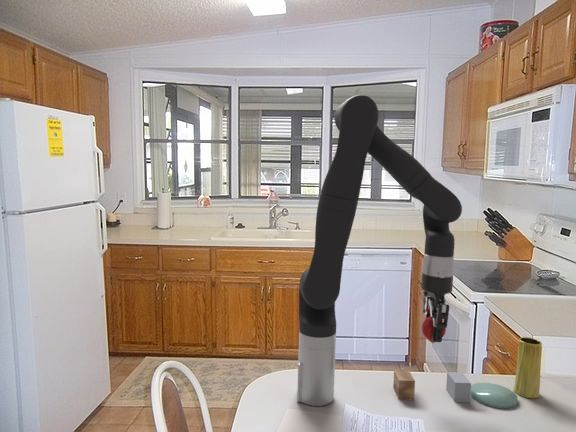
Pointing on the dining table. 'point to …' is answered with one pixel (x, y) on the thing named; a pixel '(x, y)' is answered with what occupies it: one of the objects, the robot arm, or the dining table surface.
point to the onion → (430, 328)
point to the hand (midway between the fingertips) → (433, 336)
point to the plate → (493, 395)
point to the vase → (528, 368)
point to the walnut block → (404, 384)
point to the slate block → (458, 387)
